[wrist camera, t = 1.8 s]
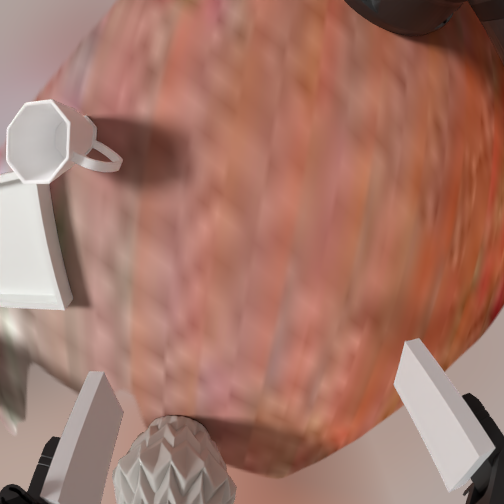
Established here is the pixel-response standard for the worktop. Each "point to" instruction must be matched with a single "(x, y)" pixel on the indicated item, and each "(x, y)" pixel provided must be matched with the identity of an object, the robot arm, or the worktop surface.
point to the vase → (173, 467)
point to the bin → (30, 248)
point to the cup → (53, 143)
